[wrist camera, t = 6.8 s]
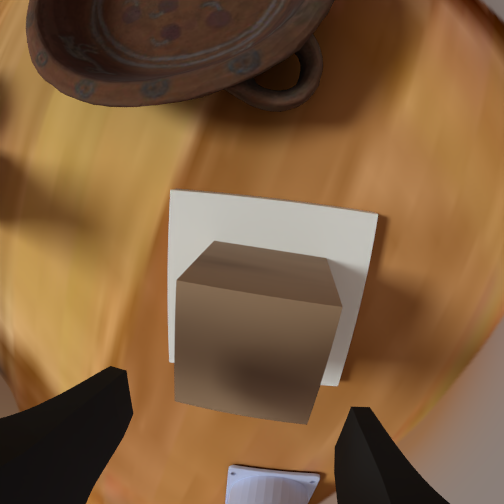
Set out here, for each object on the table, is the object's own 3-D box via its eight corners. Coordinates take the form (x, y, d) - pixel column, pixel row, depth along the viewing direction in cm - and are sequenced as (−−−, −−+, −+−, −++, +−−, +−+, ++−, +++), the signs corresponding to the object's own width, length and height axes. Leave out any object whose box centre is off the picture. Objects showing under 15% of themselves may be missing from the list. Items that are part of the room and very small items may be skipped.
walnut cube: (305, 353, 18) (307, 424, 13) (206, 336, 19) (174, 401, 13) (326, 257, 17) (342, 307, 11) (214, 240, 17) (176, 280, 11)
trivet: (336, 378, 20) (337, 386, 19) (173, 355, 21) (169, 361, 20) (374, 211, 16) (378, 214, 16) (175, 188, 17) (170, 189, 17)
